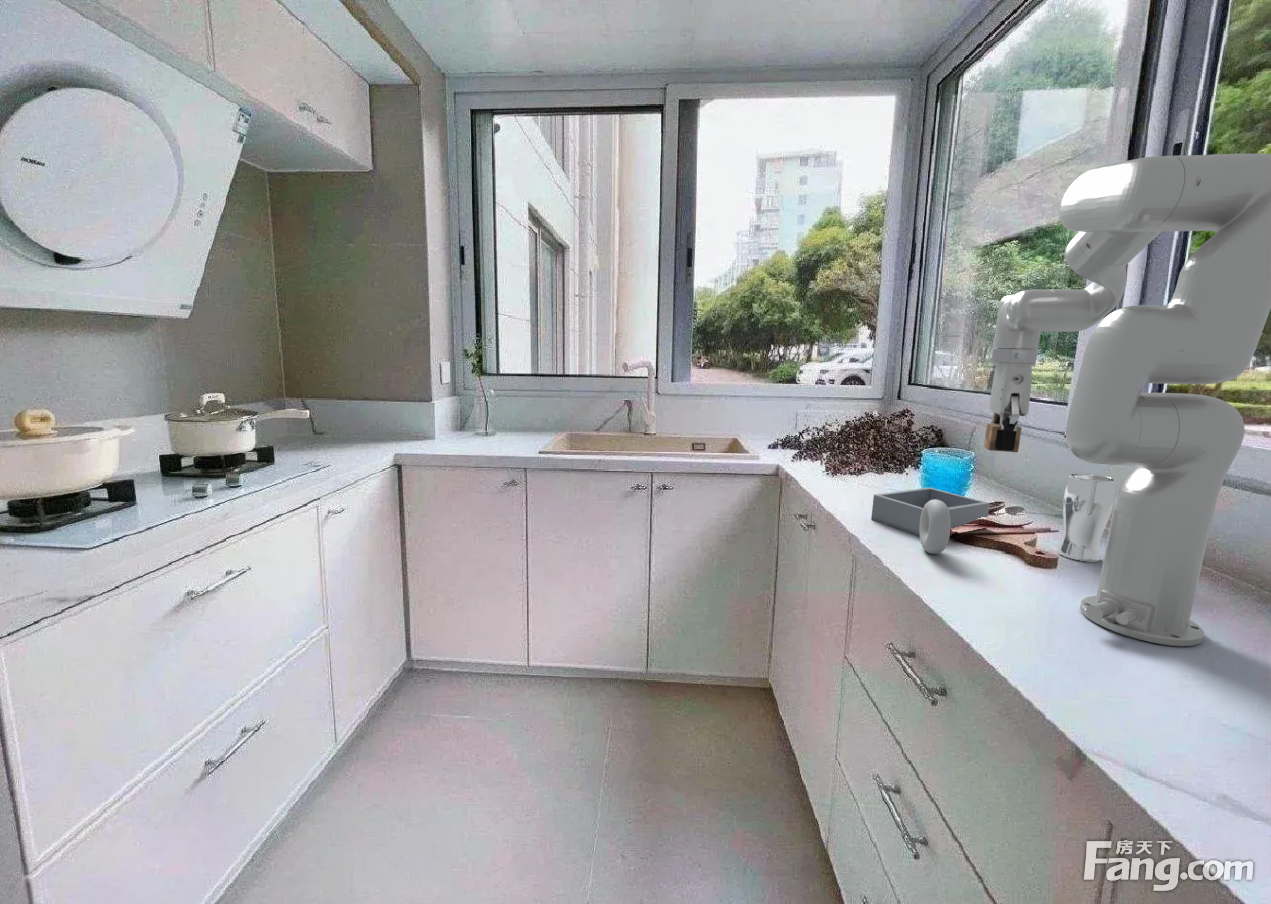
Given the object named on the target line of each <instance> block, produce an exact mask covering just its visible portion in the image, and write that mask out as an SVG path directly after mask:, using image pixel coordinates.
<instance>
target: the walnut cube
mask: <svg viewBox="0 0 1271 904" xmlns="http://www.w3.org/2000/svg"><path fill="white" fill-rule="evenodd" d="M997 430H1000V424H993V423H991V422H990V423H989V422H987V423H986V428H985V434H984V442H983V447H984V448H985V449H986V450H988V451H994V452H995V451H996V452H1004V453H1005V452H1007V453H1008V452H1009V453H1018V452H1019V448H1020V441H1021V433H1022V427H1020V426H1019V425H1017V432H1016V439H1015V446H1014V450H1013V451H1009V450H997V449H995V443H996V436H997Z"/></svg>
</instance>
